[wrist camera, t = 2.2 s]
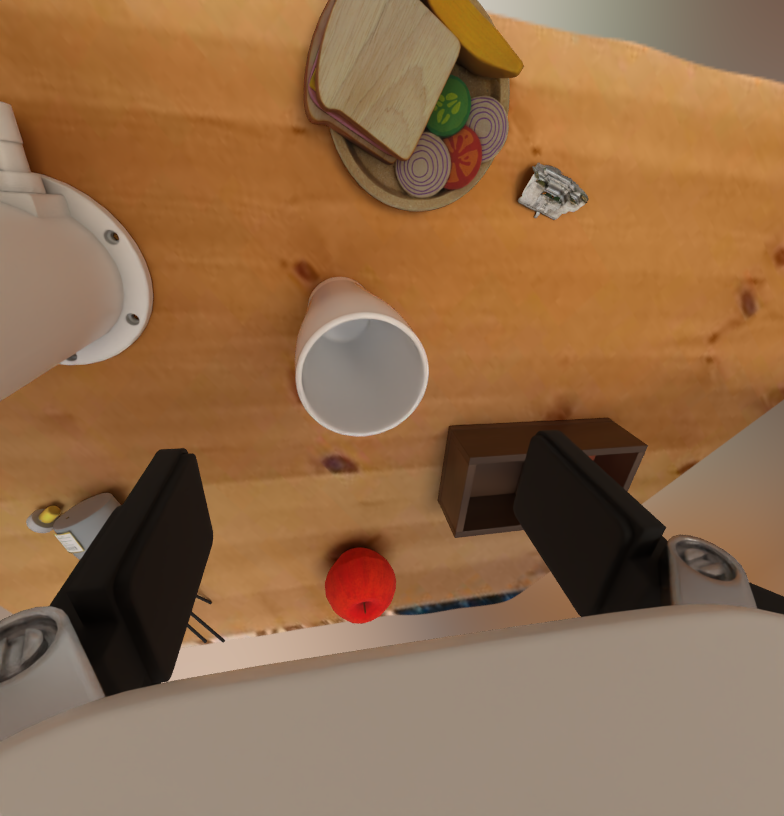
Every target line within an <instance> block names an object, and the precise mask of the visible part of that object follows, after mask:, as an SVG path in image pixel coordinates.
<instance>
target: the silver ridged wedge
mask: <svg viewBox="0 0 784 816" xmlns="http://www.w3.org/2000/svg"><path fill="white" fill-rule="evenodd" d="M533 171H534V174H533V176H532V178H531V179H530V181H529V183H528V184H527V186H526V188H525V189H524V191H523V193H522V197H521V198H519V201H518V202H519V203H520V204H523V205H524V206H525V207H528V208H529V209H532V210H534V211H536V215H535V216H534V218H537V217H538V216H539V214H540V213H542V214H544V215H546V216H548V217H550V218H552V219H553V220H555V219H557V218H559V216H560V215H561V214H565V213H567V212H568V211H571V212H575V211H576V210H578V209H579V208H580V207H582V206H583V205H585V204H586V203H587V201H588V196H587V195H586V193H585V192H584V191H583V190H582V189H581V188H580V187H579V186H578V185H576V182H574V181H573V180H571V178H568V177H565V176H564V175H562V174H561V173H562V172H561V171H560V170H559V169H557V168H555V167H553V166H548V165H545V166H544V165H542V164H540V163H537V165H536V167H533ZM536 180H538V181H536ZM545 181H546V182H545ZM543 191H547V192H548V193H546V194H542V193H543ZM549 193H550V194H549ZM551 195H552V196H554V198H552V196H551ZM524 197H525V198H524ZM574 200H575V201H574Z"/></svg>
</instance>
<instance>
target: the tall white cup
mask: <svg viewBox="0 0 784 816" xmlns="http://www.w3.org/2000/svg"><path fill="white" fill-rule="evenodd" d="M428 375H429V367H428V360H427V356H426V353H425V350H424V347H423V345H422V343H421V342H420V340H419V339H418V337H417V336H416V334H415V333H414V331H413V330H412V328H411V327H410V326H409V324H408V323H407V322H406V321H405V319H404V318H403V317H402V316H401V315H400V314H399V313H398V312H397V311H396V310H395V309H394V308H393V307H391V306H390V305H389V304H388V303H386V302H385V301H383V300H382V299H380V298H379V297H377V296H376V295H374V294H372V293H371V292H369V291H368V290H366V289H365V288H364V287H363V286H362V285H361V284H360V283H358V282H357V281H355V280H353V279H350V278H347V277H333V278H329V279H327V280H324V281H323V282H321V283H320V284H319V285H318V286H317V287H316V288H315V289H314V290H313V292H312V293H311V295H310V298H309V301H308V307H307V311H306V314H305V316H304V319H303V322H302V324H301V327H300V330H299V333H298V337H297V342H296V349H295V377H296V388H297V392H298V395H299V398H300V400H301V402H302V404H303V406H304V408H305V409H306V411H307V412H308V413H309V415H310V416H311V417H312V418H313V419H314V420H316V421H317V422H318V423H319V424H321V425H322V426H324V427H325V428H327V429H329V430H331V431H334V432H336V433H339V434H343V435H348V436H370V435H375V434H379V433H382V432H385V431H387V430H390V429H392V428H394V427H395V426H397V425H399V424H400V423H402V422H403V421H404V420H405V419H407V418H408V417H409V416H410V415H411V414H412V412H413V411H414V410H415V409H416V408H417V406H418V405H419V403H420V401H421V400H422V398H423V395H424V393H425V390H426V387H427V383H428Z"/></svg>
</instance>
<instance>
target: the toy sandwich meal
mask: <svg viewBox="0 0 784 816" xmlns="http://www.w3.org/2000/svg"><path fill="white" fill-rule="evenodd" d="M523 67H524V65H523V63H522V61H521V60H520V58H519V57H518V56H517V55H516V53H515V52H514V51H513V50H512V48H511V47H510V46H509V44H508V43H507V42H506V40H505V39H504V38H503V36H502V35H501V34H500V33H499V31H498V30H497V29H496V28H495V26H494V24H493V23H492V21H491V19H490V17H489V16H488V14H487V13H486V11H485V10H484V8H483V7H482V6H481V4H480V3H479V2H478V1H477V0H329V1H328V2H327V4H326V6H325V8H324V10H323V12H322V14H321V16H320V18H319V21H318V23H317V26H316V29H315V31H314V34H313V37H312V41H311V45H310V48H309V53H308V57H307V63H306V69H305V77H304V106H305V112H306V115H307V117H308V119H309V121H310V122H311V123H314V124H322V125H326V126H328V127H330V131H331V135H332V138H333V141H334V144H335V146H336V149H337V151H338V153H339V155H340V157H341V159H342V161H343V163H344V165H345V166H346V168H347V169H348V171H349V172H350V174H351V175H352V176H353V178H354V179H355V180H356V181H357V182H358V184H359V185H360V186H361V187H362V188H363V189H364V190H365V191H367V192H368V193H369V194H370V195H372V196H373V197H374V198H376V199H378V200H379V201H381V202H383V203H385V204H387V205H389V206H391V207H394V208H398V209H401V210H407V211H429V210H434V209H438V208H441V207H444V206H446V205H449V204H450V203H452V202H454V201H456V200H458V199H459V198H461V197H462V196H463V195H465V194H466V193H467V192H469V191H470V190H471V189H472V188H473V187H474V186H475V185H476V184H477V183H478V181H479V180H480V179H481V178H482V177H483V175H484V174H485V173H486V171H487V169H488V168H489V166H490V165H491V163H492V161H493V159H494V157H495V156H496V155H497V154H498V153H499V151H500V150H501V149H502V147H503V145H504V143H505V141H506V138H507V135H508V129H509V128H508V117H507V116H508V109H509V94H510V90H509V78H513V77H517V76H518V75H519V74H520V72H521V71H522V69H523Z"/></svg>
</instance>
